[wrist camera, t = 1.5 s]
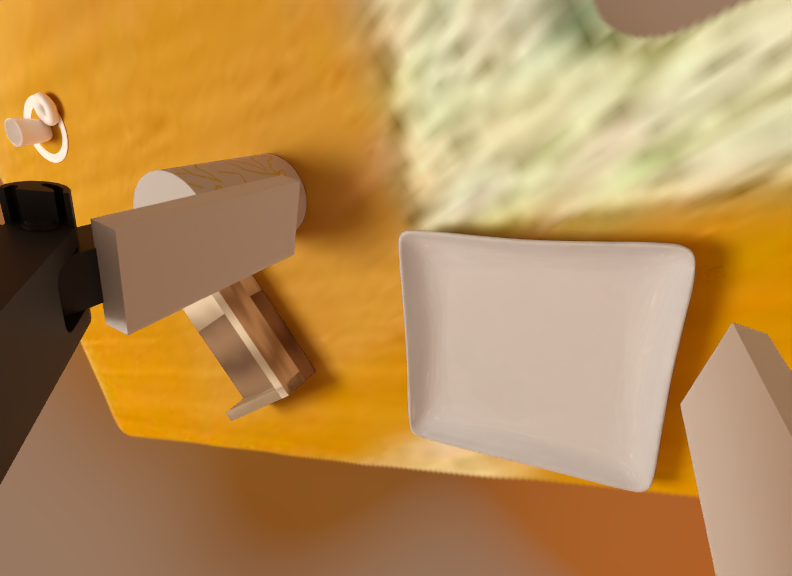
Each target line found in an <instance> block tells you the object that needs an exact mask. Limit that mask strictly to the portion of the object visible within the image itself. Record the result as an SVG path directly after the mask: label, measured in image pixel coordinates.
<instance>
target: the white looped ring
mask: <svg viewBox="0 0 792 576" xmlns="http://www.w3.org/2000/svg"><path fill="white" fill-rule="evenodd" d="M33 107H34V109H35V111H36V113H37V115H38V116H39V118H40V119H41V120H38V119H31V111H32V109H33ZM57 123H58V124H59V126H60V129H61V133H62V148H61V150H60V151H59V152H58V153H57V154H51V153H49V152H47V151H46V150H45V149H44V148H43V147H42V146H41V145H40V144H39V143H43V142H46V141H49V140H50V139H52V137H53V132H52V129H51V127H50V126H54V125H56V124H57ZM5 130H6V133H7V136H8V138H9V139H10V141H11V142H12V144H13V145H14V146H16V147H22V146H26V145H32V144H34V146H35V148H36V149H37V150H38V152H39V153H40V154H41V155H42V156H43V157H44V158H46V159H47V160H49V161H51V162H55V163H58V162H61V161H63V160H64V159H65V157H66V155H67V151H68V137H67V132H66V129H65V126H64V123H63V121H62V118H61V116H60V115H59V113H58V110H57V108H56V106H55V104H54V102H53V101H52V100H51V98H50V97H49V96H47V95H46V94H43V93H36V94H35V95H32V96H30V97H29V98H28V99H27V101H26V103H25V106H24V118H8V119H6V121H5Z"/></svg>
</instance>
